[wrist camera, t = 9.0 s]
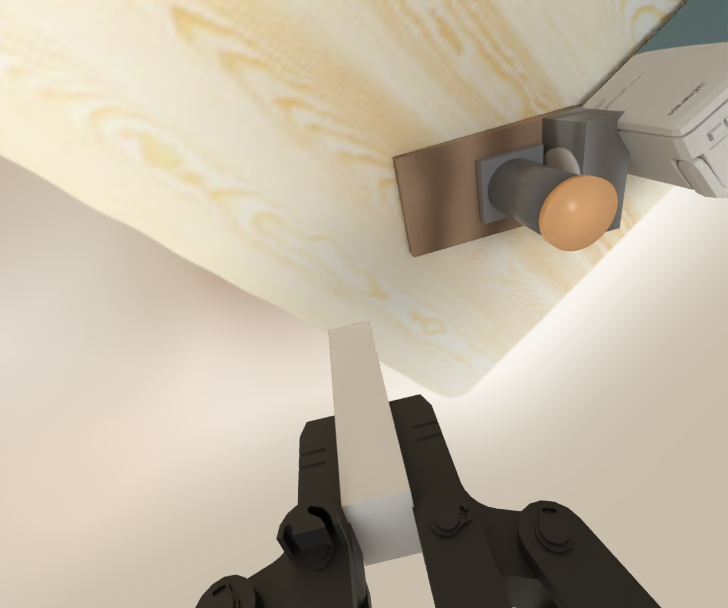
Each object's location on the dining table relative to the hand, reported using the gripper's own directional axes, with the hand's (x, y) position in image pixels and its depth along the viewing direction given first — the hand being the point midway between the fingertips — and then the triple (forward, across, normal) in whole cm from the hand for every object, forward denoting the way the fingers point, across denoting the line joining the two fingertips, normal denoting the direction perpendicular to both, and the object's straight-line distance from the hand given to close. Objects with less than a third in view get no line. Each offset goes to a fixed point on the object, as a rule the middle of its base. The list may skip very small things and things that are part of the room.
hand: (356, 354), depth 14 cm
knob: (+24, +17, -3) cm, 30 cm away
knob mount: (+26, +16, -3) cm, 31 cm away
